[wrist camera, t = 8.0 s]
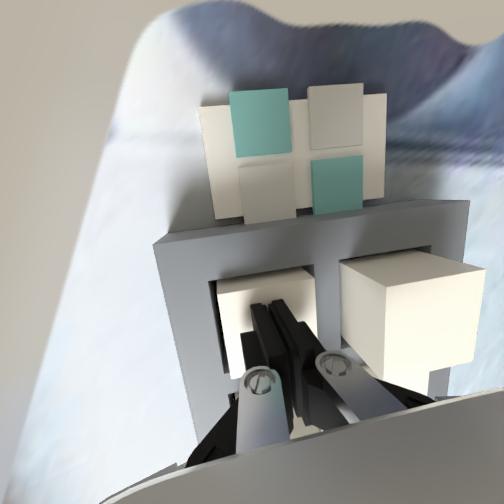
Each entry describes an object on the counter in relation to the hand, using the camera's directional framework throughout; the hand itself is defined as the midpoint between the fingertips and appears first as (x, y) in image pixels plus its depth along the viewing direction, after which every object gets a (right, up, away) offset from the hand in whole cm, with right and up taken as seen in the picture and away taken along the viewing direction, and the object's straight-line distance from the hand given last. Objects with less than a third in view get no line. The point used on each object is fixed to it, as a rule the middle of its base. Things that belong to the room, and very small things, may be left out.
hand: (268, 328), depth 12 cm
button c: (+7, +1, +3) cm, 7 cm away
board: (+3, +1, +5) cm, 6 cm away
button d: (0, +1, +4) cm, 4 cm away
